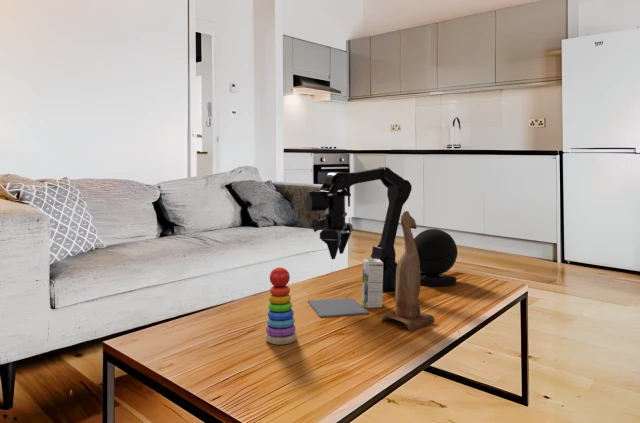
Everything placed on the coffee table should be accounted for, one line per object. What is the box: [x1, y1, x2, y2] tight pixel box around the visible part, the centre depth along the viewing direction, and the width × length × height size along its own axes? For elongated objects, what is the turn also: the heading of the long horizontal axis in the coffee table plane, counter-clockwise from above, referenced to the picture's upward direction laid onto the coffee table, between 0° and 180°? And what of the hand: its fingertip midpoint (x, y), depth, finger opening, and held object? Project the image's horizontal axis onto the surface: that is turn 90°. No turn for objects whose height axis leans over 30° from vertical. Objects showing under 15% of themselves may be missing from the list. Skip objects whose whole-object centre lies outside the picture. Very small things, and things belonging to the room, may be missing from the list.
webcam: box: [413, 228, 458, 288], centre depth 186 cm, size 17×17×20 cm
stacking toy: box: [265, 266, 297, 345], centre depth 125 cm, size 8×8×19 cm
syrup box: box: [361, 258, 384, 309], centre depth 155 cm, size 6×6×14 cm
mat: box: [307, 297, 370, 318], centre depth 153 cm, size 15×16×1 cm
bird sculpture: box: [380, 210, 435, 332], centre depth 138 cm, size 11×12×32 cm
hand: (337, 256), depth 165 cm, fingers open, 9 cm apart
